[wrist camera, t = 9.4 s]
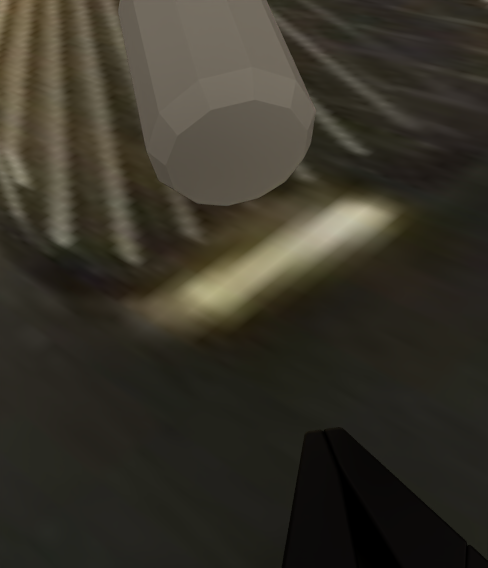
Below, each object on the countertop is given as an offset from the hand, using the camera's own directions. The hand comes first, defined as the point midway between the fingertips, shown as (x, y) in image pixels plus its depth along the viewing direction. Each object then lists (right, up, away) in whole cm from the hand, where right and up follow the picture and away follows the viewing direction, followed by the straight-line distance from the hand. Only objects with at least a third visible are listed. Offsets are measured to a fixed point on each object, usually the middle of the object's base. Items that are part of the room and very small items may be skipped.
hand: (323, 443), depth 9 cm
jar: (-2, +10, +13) cm, 17 cm away
